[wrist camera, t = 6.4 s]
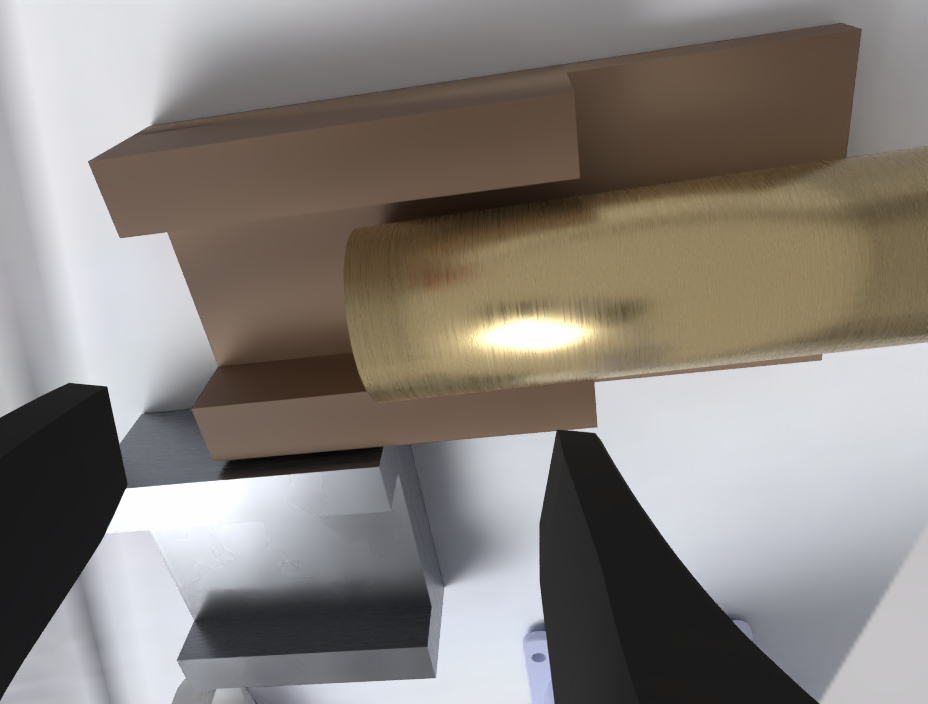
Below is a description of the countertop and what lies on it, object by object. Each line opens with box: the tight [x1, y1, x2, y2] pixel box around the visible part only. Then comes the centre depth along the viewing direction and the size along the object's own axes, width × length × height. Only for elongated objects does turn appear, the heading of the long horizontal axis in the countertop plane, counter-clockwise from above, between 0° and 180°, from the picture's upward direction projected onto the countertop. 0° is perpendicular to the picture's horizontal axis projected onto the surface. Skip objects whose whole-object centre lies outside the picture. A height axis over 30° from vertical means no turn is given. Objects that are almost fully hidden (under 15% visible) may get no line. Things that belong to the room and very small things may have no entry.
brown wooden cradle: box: [88, 23, 861, 461], centre depth 17 cm, size 8×16×3 cm, turn 99°
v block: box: [106, 409, 444, 690], centre depth 22 cm, size 8×8×4 cm
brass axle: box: [343, 146, 928, 403], centre depth 16 cm, size 12×4×4 cm, turn 100°
